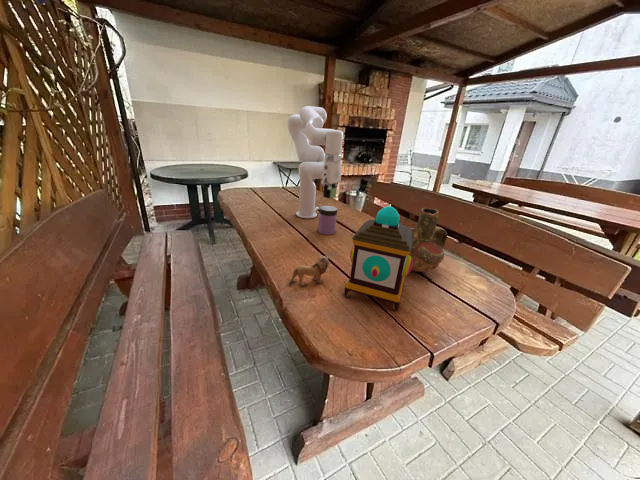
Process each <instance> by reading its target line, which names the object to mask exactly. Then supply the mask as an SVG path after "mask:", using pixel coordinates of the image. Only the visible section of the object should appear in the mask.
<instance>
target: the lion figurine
mask: <svg viewBox="0 0 640 480" xmlns="http://www.w3.org/2000/svg"><path fill="white" fill-rule="evenodd" d="M329 265H330V261H329V257H327V256H325V255H321V256H319V257H318V259H317V260H316V262H315V263H314V264H311V265H304V264H299V265H297V266H296V267H295V268H294V270H293V272H292V274H291V275H292V276H291V280H290V282H289V283H288V285H291V284H292V283H293V282H294V283H295V282H296V279H295V278H296V277H298V283H299V284H300V286H302V287H304V286H305V285H306V284H305V282H303V279H304V277H305V275H306V276H307V277H308V276H309V277H313V280H315V281H316V282H317V284H321V283H322V281H321V277H322V275H323V274H325V273H326V271H327V269H328V267H329Z"/></svg>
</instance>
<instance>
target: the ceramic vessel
mask: <svg viewBox="0 0 640 480" xmlns="http://www.w3.org/2000/svg"><path fill="white" fill-rule="evenodd" d="M439 212H440V210H438V209H436V208H429V207H422V208H421V209H420V212H419V217H418V221H417V225H416V228H414V227H410V229H412V230H413V232H414V238H413V243H412V248H411V252H410V253H409V255H410V256H411V257H412V260H413V264H412V269H411V271H413V272H422V273H424V272H428V271H430V270H435V269H436V268H437V267H439V265H440V264H441V263H442V262H443V261H444V258H445V251H443V250H444V247H445V244H446V242H447V239H448V233H447V231H446V230H445V229H444V228H442V227H440V226H437V224H438V220H439Z"/></svg>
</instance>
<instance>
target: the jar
mask: <svg viewBox="0 0 640 480" xmlns="http://www.w3.org/2000/svg"><path fill="white" fill-rule="evenodd" d="M337 217H338V213H337V214H336V215H333V216H328V215H323V214H320V213H318V226H317V231H318V233H319V234H322V235H326V236H327V235H329V236H330V235H334V234H335V233H336V226H337Z"/></svg>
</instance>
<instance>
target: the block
mask: <svg viewBox="0 0 640 480" xmlns="http://www.w3.org/2000/svg"><path fill="white" fill-rule="evenodd" d="M329 190H330V196H329V198H328V199H330V200H332V199H335V198H337V190H338V187H337V188H332V187H331V186H330V188H329ZM322 197H323V198H326V197H324V194H323V196H322ZM326 199H327V198H326Z"/></svg>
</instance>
